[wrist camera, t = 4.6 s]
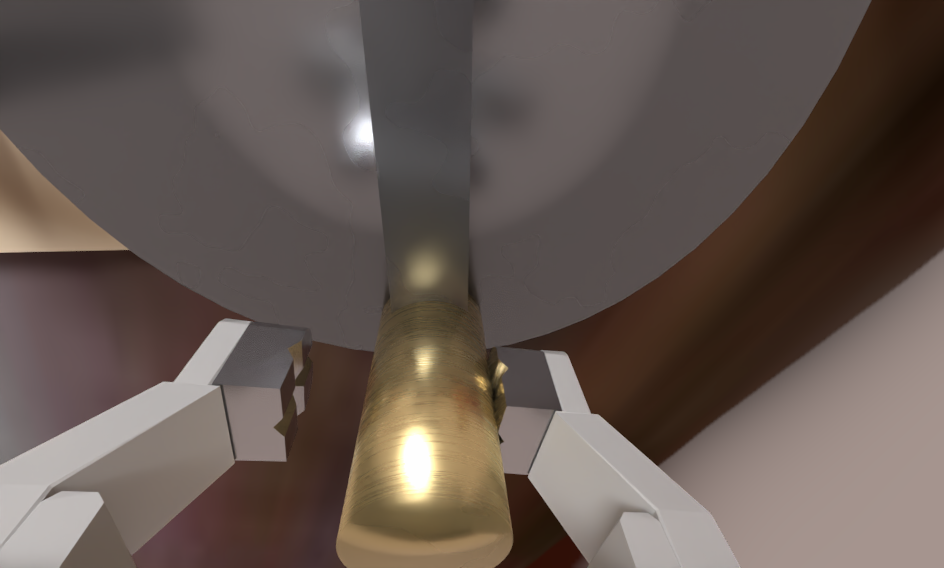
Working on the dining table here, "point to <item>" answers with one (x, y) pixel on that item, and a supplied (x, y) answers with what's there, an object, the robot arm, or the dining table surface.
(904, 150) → the dining table surface
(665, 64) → the handwheel
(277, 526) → the dining table surface
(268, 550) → the dining table surface
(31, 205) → the base board
